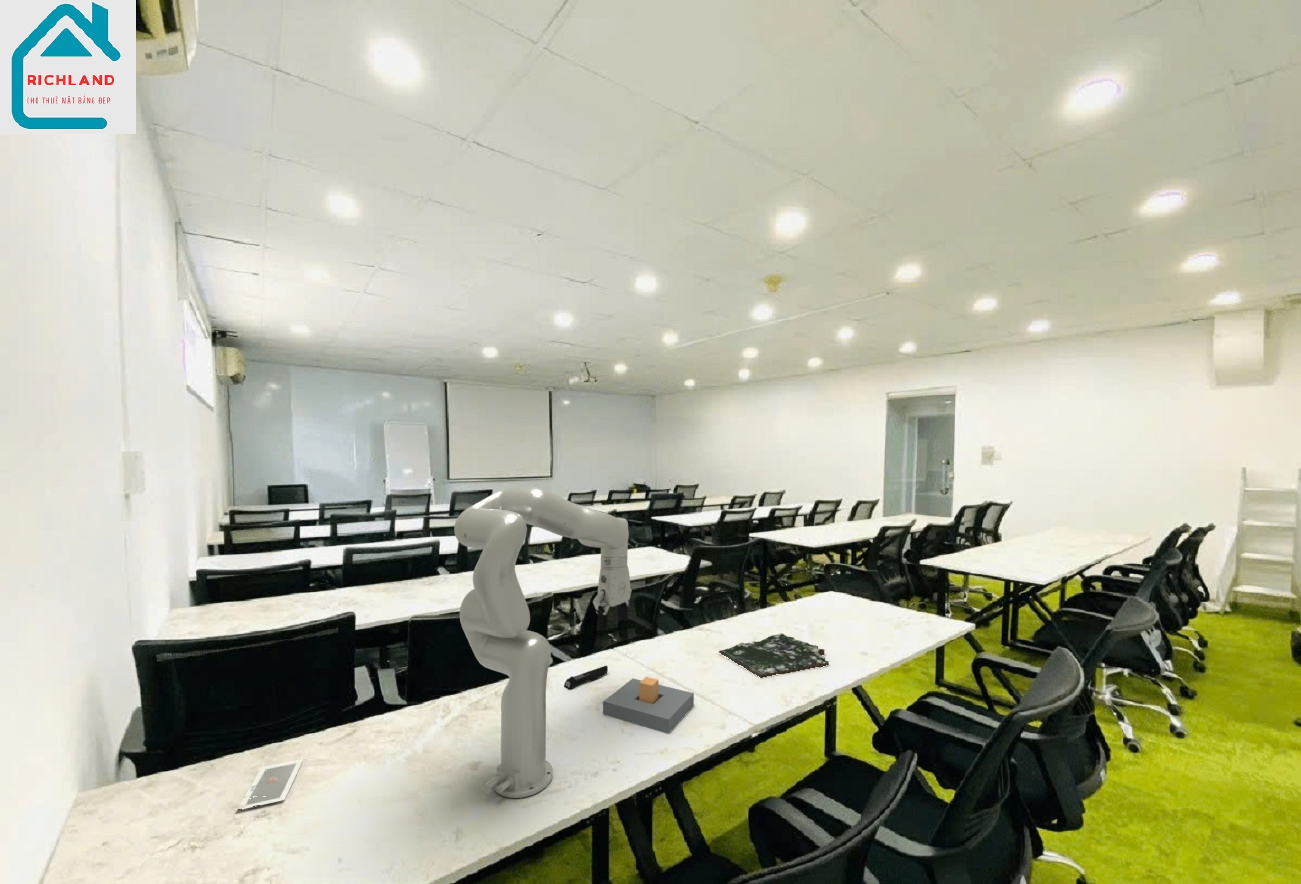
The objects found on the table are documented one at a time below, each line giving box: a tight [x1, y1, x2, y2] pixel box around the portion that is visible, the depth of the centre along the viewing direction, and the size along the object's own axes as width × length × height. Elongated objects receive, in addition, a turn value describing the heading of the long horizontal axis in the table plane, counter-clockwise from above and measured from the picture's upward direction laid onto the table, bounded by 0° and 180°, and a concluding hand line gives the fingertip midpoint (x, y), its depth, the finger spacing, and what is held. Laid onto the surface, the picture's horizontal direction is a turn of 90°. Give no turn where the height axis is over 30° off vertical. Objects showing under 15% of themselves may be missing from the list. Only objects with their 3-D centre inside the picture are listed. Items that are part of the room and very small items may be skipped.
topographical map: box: [718, 632, 830, 679], centre depth 172 cm, size 26×33×3 cm
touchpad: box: [239, 758, 304, 810], centre depth 105 cm, size 8×15×2 cm, turn 23°
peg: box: [639, 676, 660, 704], centre depth 136 cm, size 4×4×8 cm
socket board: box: [602, 678, 695, 734], centre depth 136 cm, size 16×20×4 cm
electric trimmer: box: [563, 665, 608, 691], centre depth 155 cm, size 4×16×3 cm, turn 133°
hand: (612, 624), depth 137 cm, fingers open, 9 cm apart
